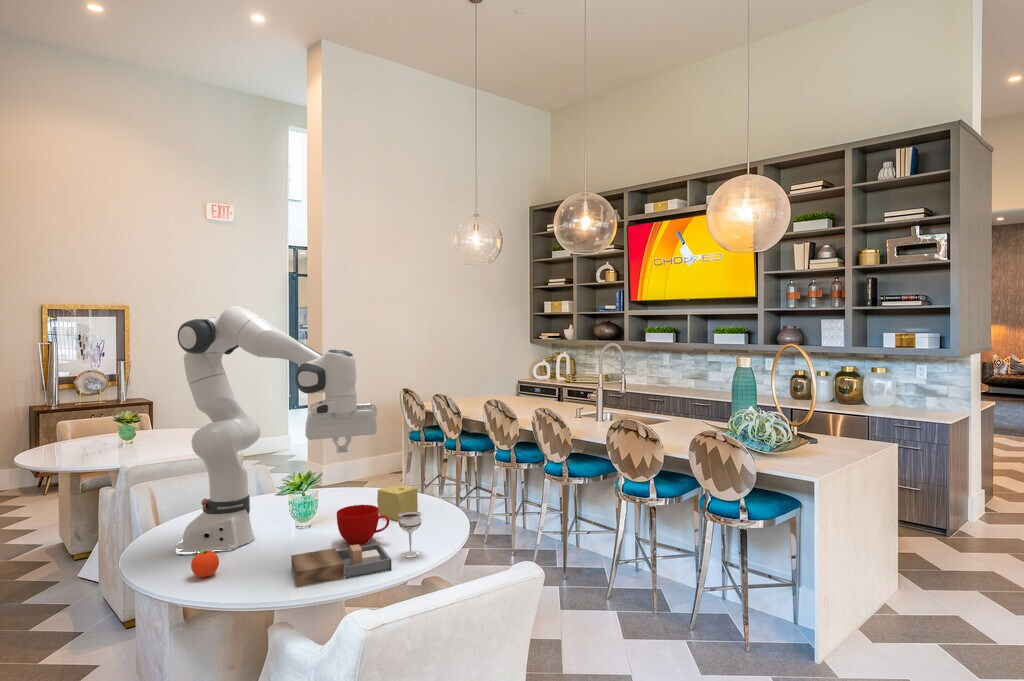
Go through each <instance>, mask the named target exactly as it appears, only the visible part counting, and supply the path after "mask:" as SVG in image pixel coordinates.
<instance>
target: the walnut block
mask: <svg viewBox="0 0 1024 681" xmlns="http://www.w3.org/2000/svg"><path fill="white" fill-rule="evenodd" d="M337 551H338V550H337V549H336V548H335V547H334V548H333V547H332V548H327V549H321V550H316V551H309V552H304V553H299V554H291V555H290V556H291V560H290V561H291V571H292V575H294V576H293V579H294V581H295V584H296V587H297V588H298V587H304V586H309V584H310V585H314V584H319V583H320V584H321V583H325V582H331V581H335V579H336V580H340V578H342V579H344V578H345V575H344V563H343V561H342V560H341V558H340V556H339V554H338V552H337Z"/></svg>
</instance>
